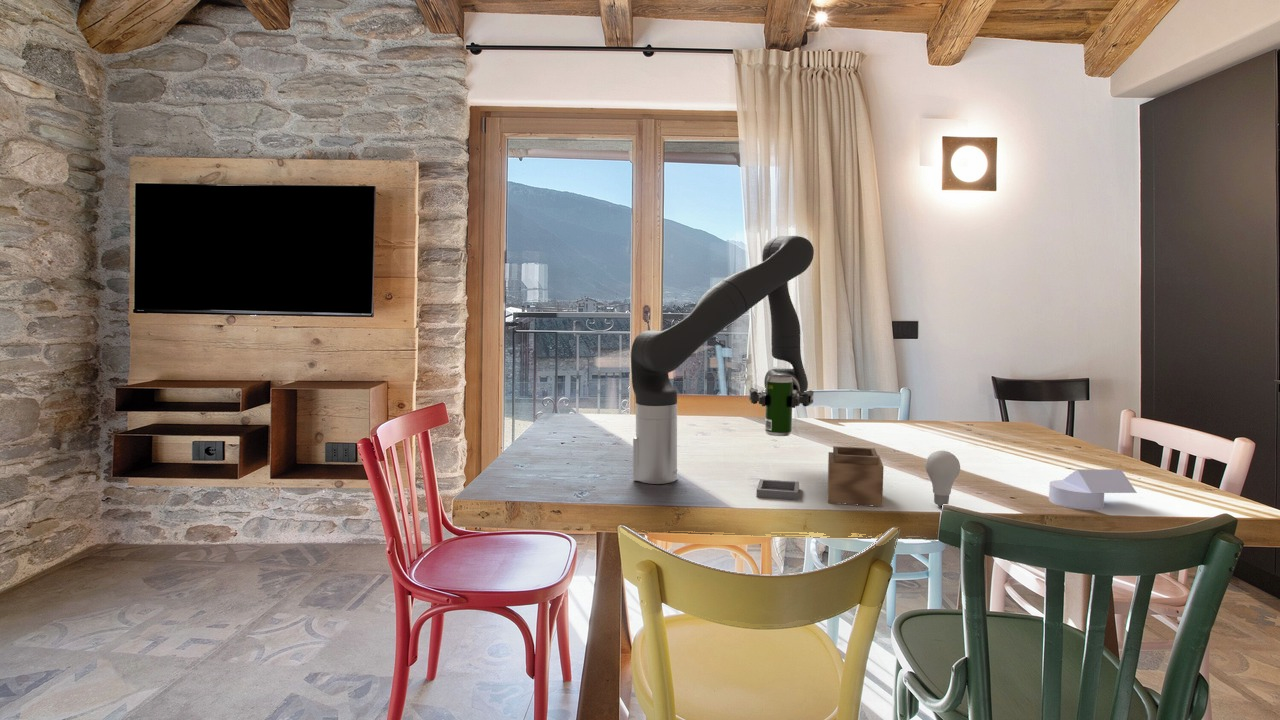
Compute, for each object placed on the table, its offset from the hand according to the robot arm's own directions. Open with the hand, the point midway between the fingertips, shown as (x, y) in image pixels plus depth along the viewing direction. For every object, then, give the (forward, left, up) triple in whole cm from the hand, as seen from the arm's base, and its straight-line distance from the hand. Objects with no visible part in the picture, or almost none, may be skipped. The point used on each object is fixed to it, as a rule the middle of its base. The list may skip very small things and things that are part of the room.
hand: (778, 402), depth 134 cm
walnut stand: (+15, +3, -19) cm, 25 cm away
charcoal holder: (0, +3, -19) cm, 20 cm away
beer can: (0, +3, -7) cm, 8 cm away
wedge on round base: (+59, +11, -20) cm, 63 cm away
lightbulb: (+31, +1, -20) cm, 37 cm away
